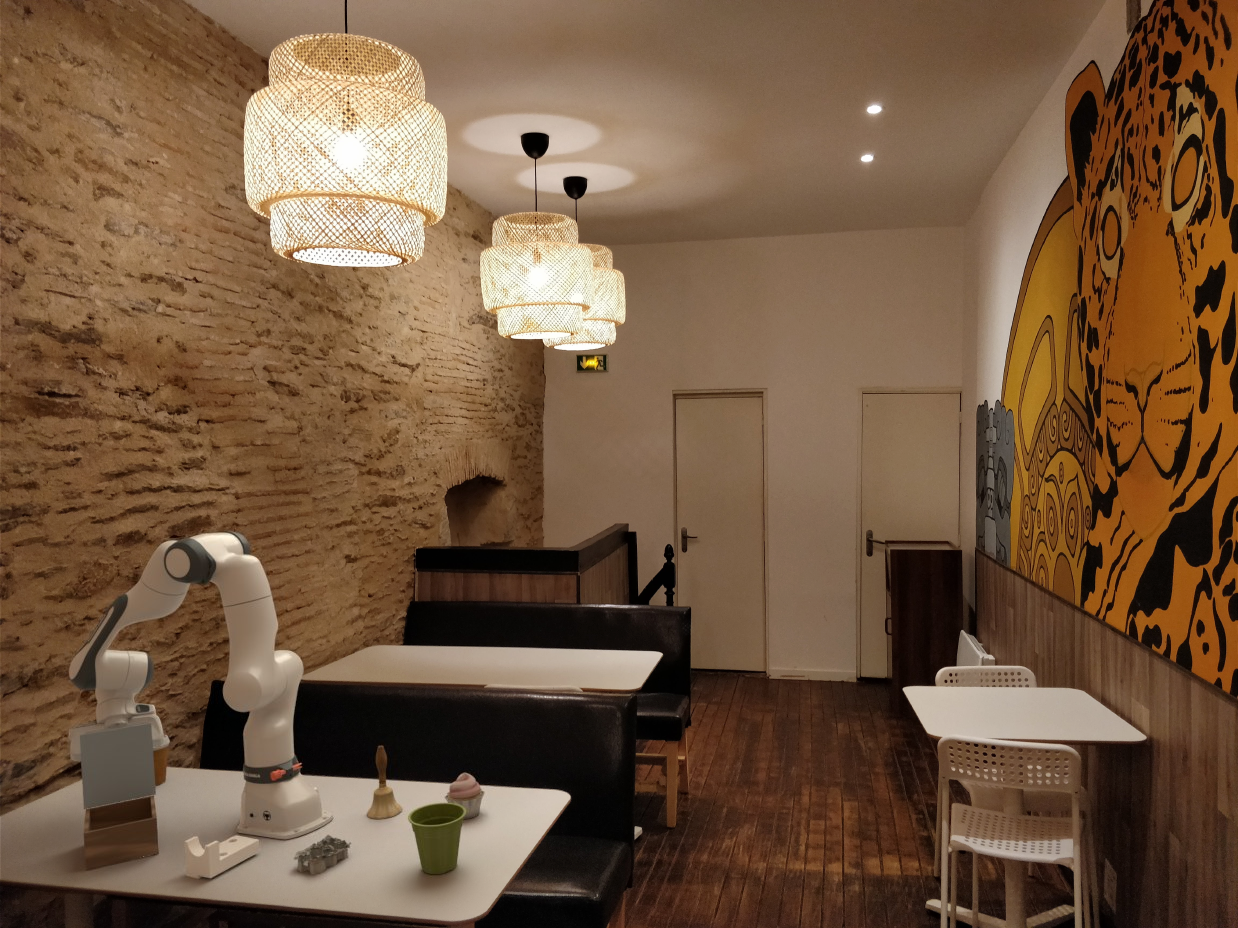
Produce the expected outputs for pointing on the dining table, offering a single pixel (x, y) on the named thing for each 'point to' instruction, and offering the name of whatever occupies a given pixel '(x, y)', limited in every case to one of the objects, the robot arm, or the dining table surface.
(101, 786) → the lid
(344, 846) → the egg carton
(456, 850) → the plant pot
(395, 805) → the hand bell
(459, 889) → the dining table surface
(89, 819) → the box
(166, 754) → the disposable coffee cup
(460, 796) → the cupcake
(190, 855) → the bracket
